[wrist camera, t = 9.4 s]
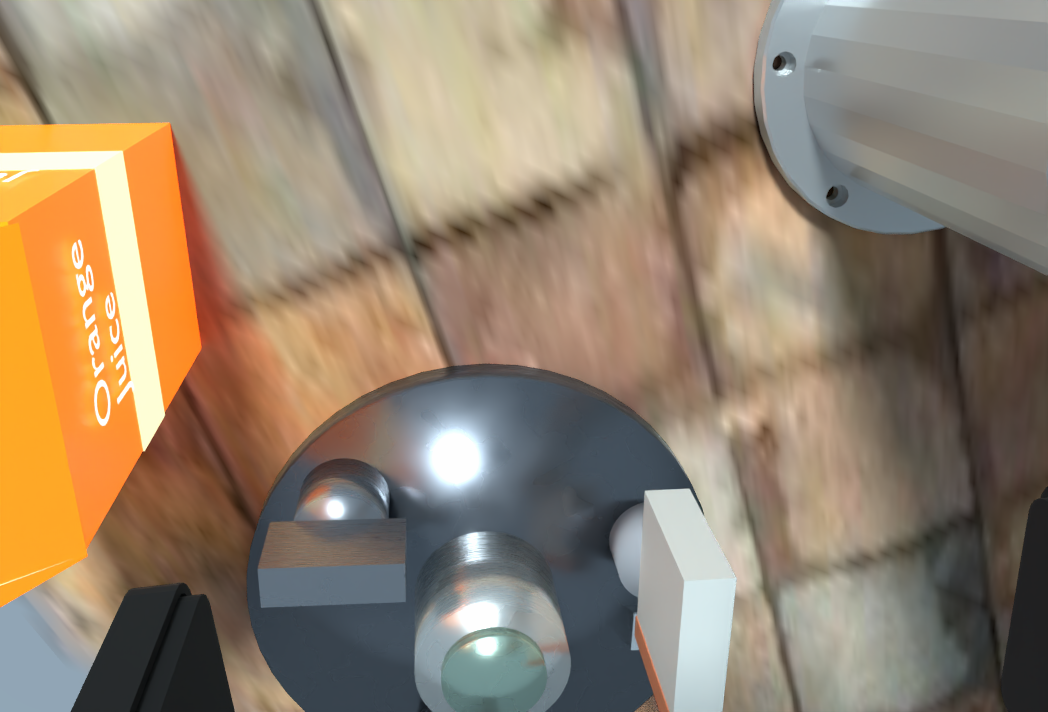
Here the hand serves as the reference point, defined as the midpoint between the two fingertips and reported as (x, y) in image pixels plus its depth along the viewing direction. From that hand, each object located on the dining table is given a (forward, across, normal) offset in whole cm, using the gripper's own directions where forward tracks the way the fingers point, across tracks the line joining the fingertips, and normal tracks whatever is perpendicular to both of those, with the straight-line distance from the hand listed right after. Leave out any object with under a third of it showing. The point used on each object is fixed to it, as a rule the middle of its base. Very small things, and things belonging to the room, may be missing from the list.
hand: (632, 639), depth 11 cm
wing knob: (+25, -6, +16) cm, 30 cm away
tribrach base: (+27, +1, +18) cm, 32 cm away
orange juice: (+27, +15, +1) cm, 31 cm away
